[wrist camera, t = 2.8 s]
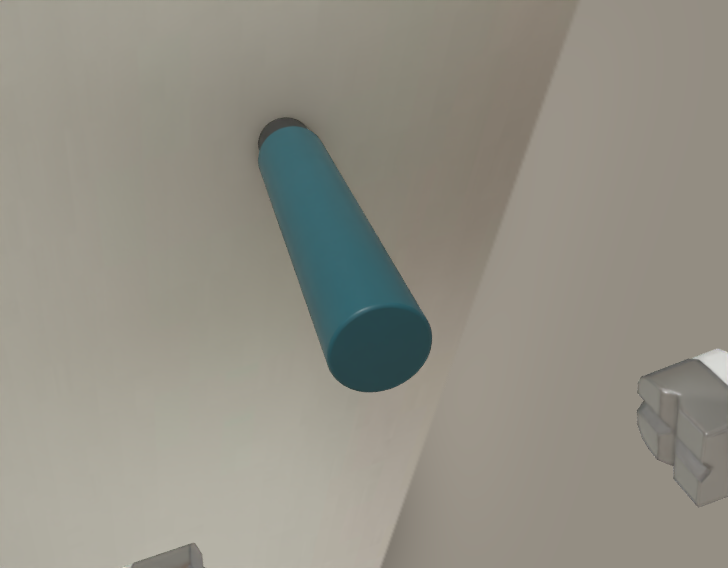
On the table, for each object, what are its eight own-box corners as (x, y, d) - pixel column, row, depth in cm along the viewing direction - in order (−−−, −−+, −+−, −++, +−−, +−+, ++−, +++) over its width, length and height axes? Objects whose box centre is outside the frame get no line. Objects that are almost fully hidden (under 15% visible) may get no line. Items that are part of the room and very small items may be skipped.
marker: (307, 103, 25) (424, 290, 15) (323, 163, 27) (440, 373, 16) (244, 122, 25) (315, 326, 14) (263, 181, 26) (341, 407, 16)
